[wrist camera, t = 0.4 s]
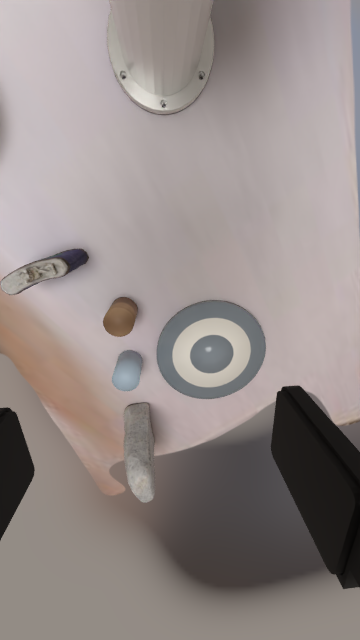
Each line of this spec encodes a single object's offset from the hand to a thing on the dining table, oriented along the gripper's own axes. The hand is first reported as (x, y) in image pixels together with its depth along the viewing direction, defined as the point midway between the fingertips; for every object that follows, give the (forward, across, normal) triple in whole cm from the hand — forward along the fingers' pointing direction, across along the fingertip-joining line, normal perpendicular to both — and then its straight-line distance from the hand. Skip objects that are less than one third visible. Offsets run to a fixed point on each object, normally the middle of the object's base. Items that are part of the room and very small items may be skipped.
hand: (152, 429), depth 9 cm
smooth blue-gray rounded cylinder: (+34, +7, +16) cm, 38 cm away
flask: (+33, +15, -2) cm, 37 cm away
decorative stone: (+34, +6, +31) cm, 46 cm away
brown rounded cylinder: (+33, +6, +6) cm, 34 cm away
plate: (+34, -8, +15) cm, 38 cm away
